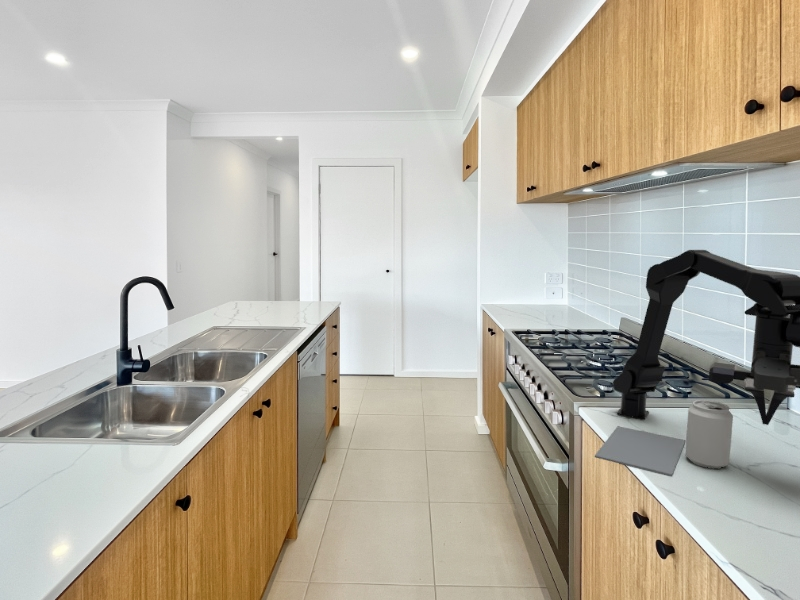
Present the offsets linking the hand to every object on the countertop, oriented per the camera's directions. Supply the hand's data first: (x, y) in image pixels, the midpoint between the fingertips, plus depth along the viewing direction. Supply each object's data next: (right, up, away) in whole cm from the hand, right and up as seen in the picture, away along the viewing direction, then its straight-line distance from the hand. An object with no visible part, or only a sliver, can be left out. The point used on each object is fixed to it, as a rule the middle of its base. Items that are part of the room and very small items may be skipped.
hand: (765, 423), depth 91 cm
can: (-7, -9, +6) cm, 13 cm away
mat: (-17, -9, +12) cm, 23 cm away
